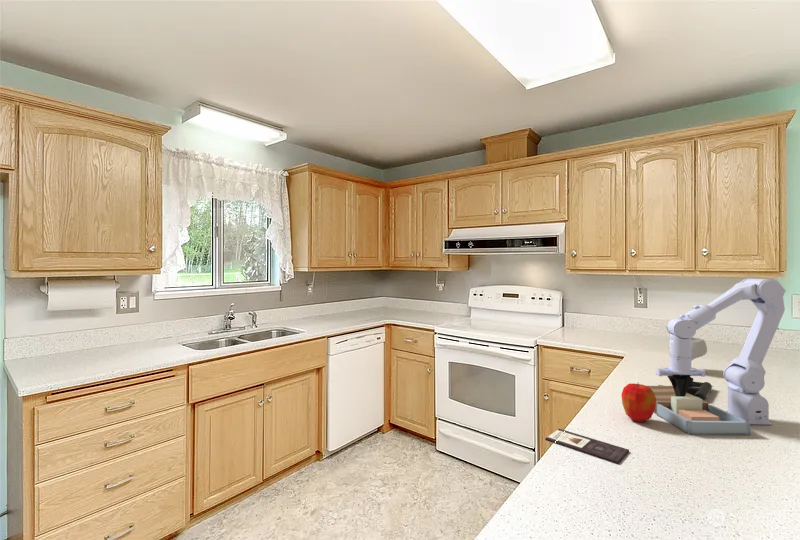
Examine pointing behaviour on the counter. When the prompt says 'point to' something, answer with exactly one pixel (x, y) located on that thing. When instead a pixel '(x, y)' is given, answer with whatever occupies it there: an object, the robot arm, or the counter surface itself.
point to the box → (707, 422)
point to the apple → (638, 402)
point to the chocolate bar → (588, 446)
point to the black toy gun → (699, 389)
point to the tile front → (698, 415)
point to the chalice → (697, 348)
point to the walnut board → (669, 397)
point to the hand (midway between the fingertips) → (680, 398)
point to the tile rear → (685, 403)
